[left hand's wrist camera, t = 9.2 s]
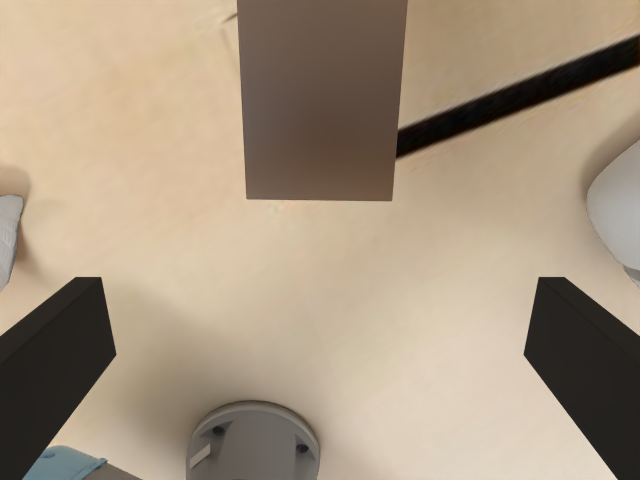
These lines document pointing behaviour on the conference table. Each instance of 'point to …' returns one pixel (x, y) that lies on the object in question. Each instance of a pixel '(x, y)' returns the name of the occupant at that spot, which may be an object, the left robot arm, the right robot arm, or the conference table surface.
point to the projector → (619, 209)
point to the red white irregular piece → (8, 234)
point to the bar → (320, 97)
